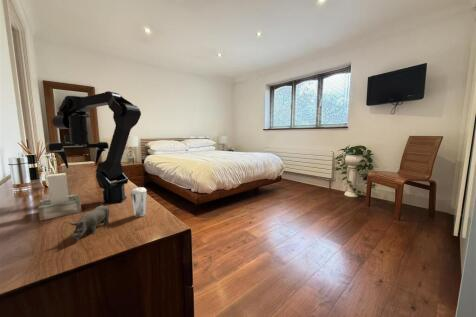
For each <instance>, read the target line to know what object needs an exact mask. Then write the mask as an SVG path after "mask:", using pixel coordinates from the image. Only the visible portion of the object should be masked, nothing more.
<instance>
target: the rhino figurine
mask: <svg viewBox="0 0 476 317" xmlns="http://www.w3.org/2000/svg"><path fill="white" fill-rule="evenodd" d="M109 215H110V209H109V207H108V206H106V205H103V204H100V206H97V207H95V208H94V209H93V210H91V211H86V212H85V213H84V214H83V215H81V216H80V218H79V219H78V220H77V221H76V222H69V224H70V225H71V226H75V229H74V230H73V233H70V237H71V238H73V239H75V240H77V241H79V240H80V239H81V238H82V236H84V234H87V233H90V234H91V235H96V234H98V231H97V225H98V224H103V226H108V225H110V222H109Z"/></svg>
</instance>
